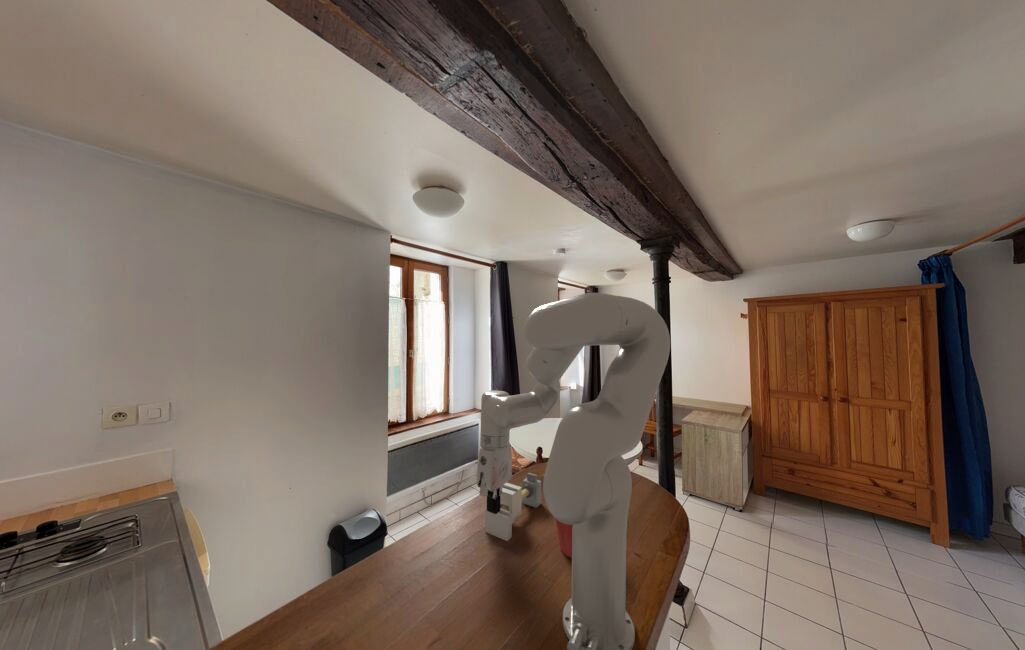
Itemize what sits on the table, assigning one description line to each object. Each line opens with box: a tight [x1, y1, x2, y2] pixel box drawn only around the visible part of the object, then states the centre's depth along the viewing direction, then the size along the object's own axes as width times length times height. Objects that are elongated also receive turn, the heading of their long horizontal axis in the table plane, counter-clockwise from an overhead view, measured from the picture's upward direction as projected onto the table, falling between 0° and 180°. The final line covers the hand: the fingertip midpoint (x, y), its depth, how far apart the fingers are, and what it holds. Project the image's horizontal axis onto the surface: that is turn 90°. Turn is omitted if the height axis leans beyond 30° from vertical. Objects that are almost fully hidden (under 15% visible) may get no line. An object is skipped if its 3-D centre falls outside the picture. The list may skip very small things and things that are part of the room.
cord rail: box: [485, 472, 542, 542], centre depth 92 cm, size 21×7×9 cm, turn 148°
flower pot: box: [554, 517, 573, 559], centre depth 79 cm, size 11×11×10 cm
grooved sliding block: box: [499, 482, 523, 524], centre depth 88 cm, size 5×5×8 cm
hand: (493, 511), depth 81 cm, fingers closed
